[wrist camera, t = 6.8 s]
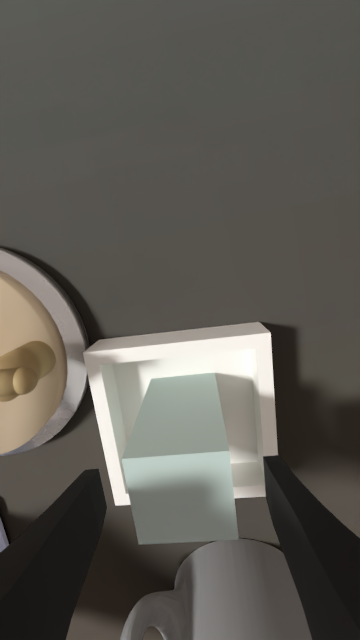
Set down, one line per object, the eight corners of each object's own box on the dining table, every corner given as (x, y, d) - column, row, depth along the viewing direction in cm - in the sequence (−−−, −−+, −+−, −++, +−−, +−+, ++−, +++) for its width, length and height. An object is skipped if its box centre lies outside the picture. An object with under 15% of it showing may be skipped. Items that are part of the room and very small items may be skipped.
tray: (268, 464, 18) (280, 495, 16) (125, 474, 19) (115, 505, 17) (259, 321, 16) (270, 332, 14) (98, 339, 17) (82, 352, 15)
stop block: (221, 429, 17) (238, 539, 10) (160, 434, 18) (138, 544, 11) (214, 372, 16) (229, 450, 10) (150, 378, 17) (121, 459, 10)
